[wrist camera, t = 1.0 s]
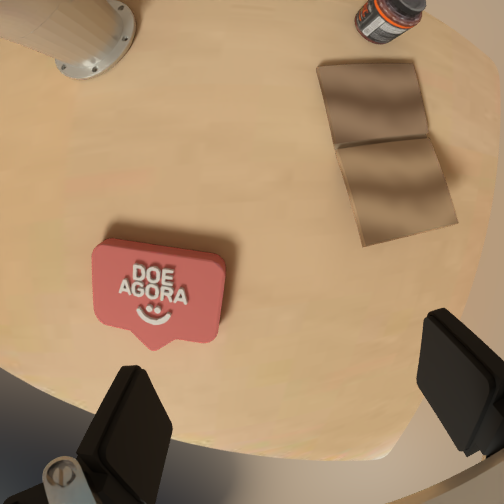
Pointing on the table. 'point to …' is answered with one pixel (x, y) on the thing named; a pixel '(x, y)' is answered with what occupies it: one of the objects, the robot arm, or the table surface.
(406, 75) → the brown wooden board
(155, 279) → the plaque
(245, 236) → the table surface
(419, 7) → the supplement bottle
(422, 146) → the plank
